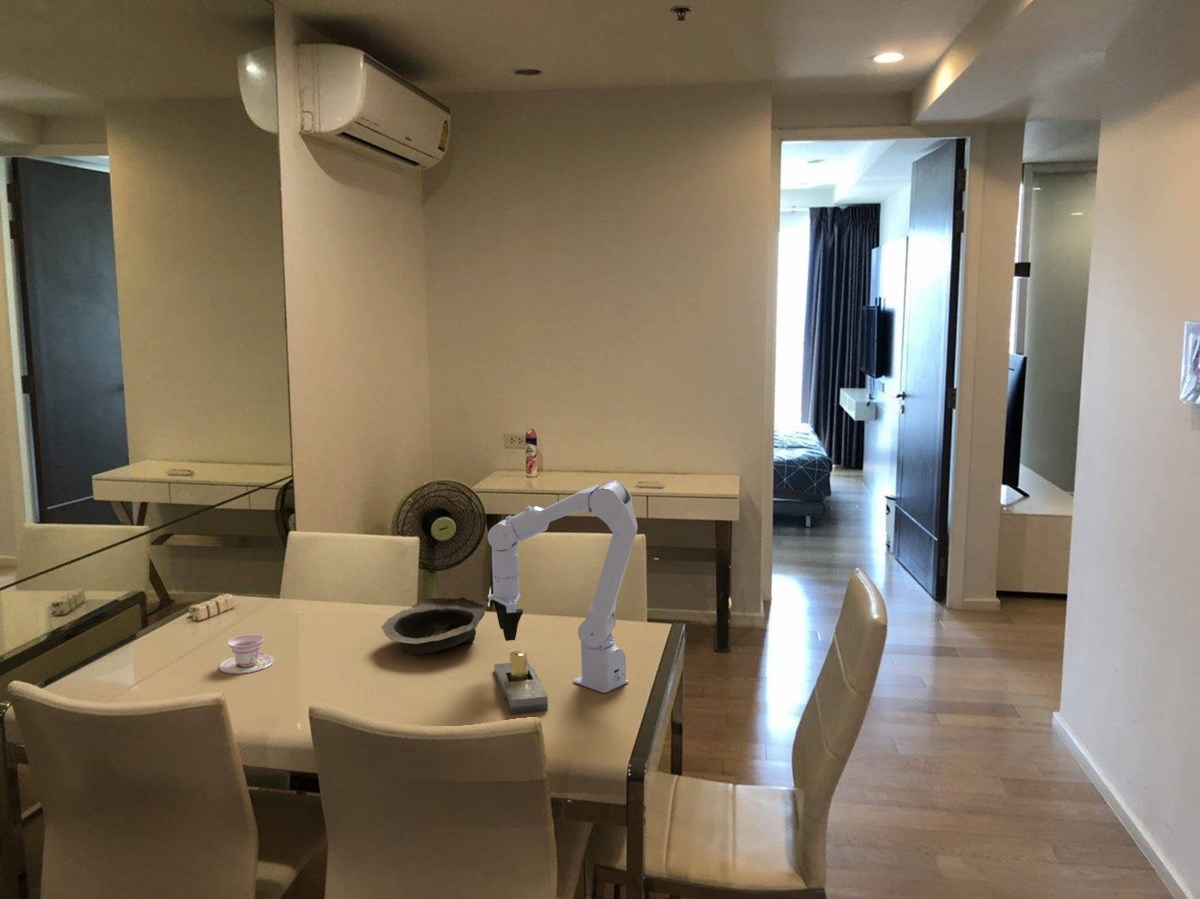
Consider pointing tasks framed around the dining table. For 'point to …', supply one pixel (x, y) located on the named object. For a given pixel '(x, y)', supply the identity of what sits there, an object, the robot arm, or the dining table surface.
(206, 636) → the dining table surface
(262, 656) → the teacup
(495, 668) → the gray slotted block
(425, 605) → the stone bowl
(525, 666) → the pin
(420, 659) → the dining table surface
